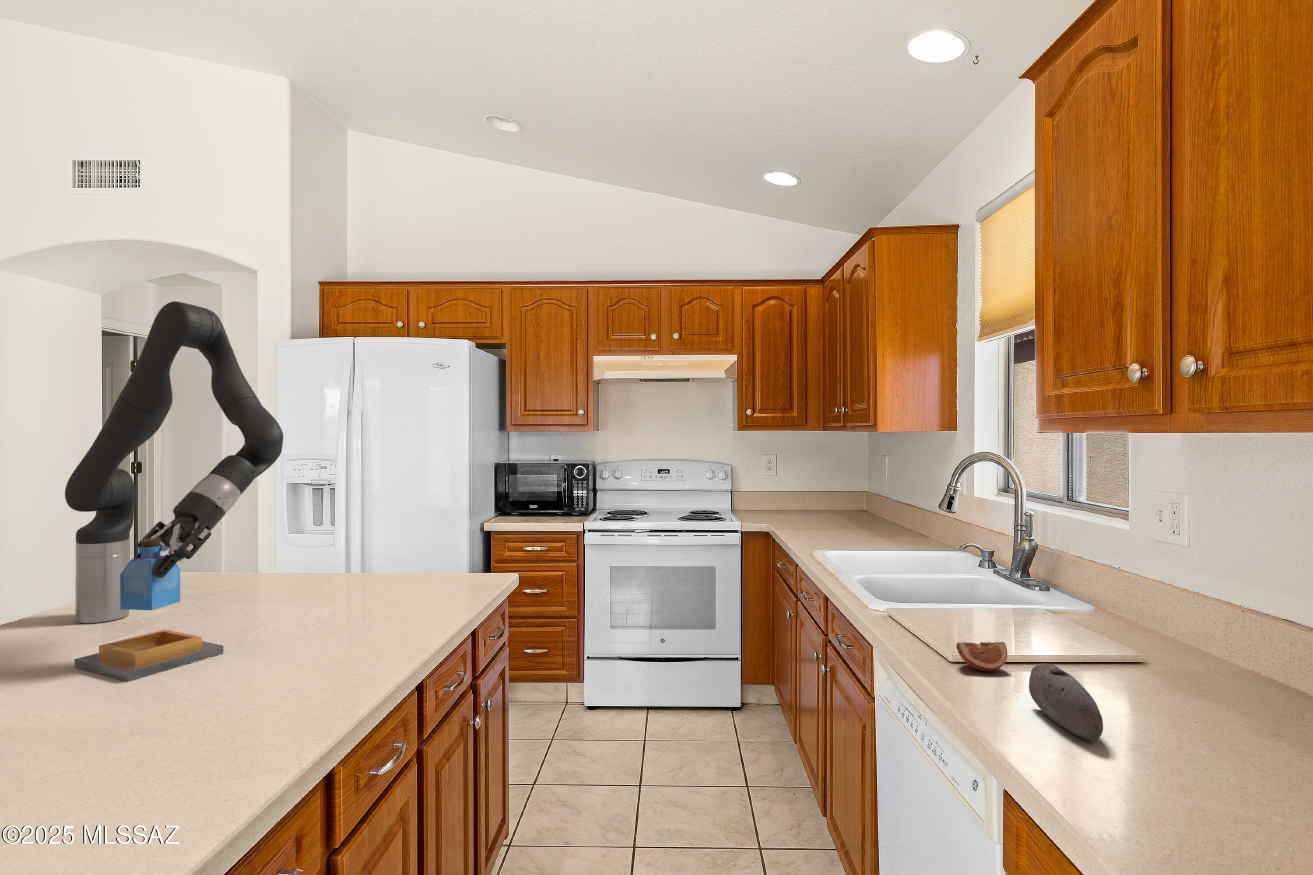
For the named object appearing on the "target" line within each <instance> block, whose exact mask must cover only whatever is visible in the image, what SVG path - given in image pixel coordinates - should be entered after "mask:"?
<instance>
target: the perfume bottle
mask: <svg viewBox="0 0 1313 875" xmlns="http://www.w3.org/2000/svg"><path fill="white" fill-rule="evenodd" d="M139 542H140V543H141V546H140V547H139V548H138V553H141V558H136V559H133V558H132V559H129V563H128V564H127V566H126V567H125V569H124V570H123V571H122V573H121V574H120V609H127V610H129V611H130V610H133V611H155V610H157V609H160V608H165V607H168V606H170V605H174V604H177V603H180V602H181V568H180V566H179V565H178V563H176V564H175V565H174V566H173V567H172V568H171V570H170V571H169V572H168V573H167V574H166V575H165V576H164V577H163V578H160V577H157V576H156V575H154V574H153V573H152V569H153V568H154V567H155V566H156V565H157V564H158V563H159V561H160V560H161V559H162V558H163V557H164V556H165V555H161V552H163V551H162V545H160V542H161V538H150V539H143V538H142V539H139ZM160 551H161V552H160Z"/></svg>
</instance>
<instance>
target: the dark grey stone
mask: <svg viewBox="0 0 1313 875" xmlns="http://www.w3.org/2000/svg"><path fill="white" fill-rule="evenodd" d="M1028 682H1029V683H1028V691H1029V695H1030V696H1031V699H1032V700H1033V702H1034V703H1035V705H1037V707H1038V708H1039V709H1040V710H1041V712H1042V713H1043V714H1044V715H1045V716H1046V717H1048V718H1049V719H1050V720H1051V721H1053V722H1055V723H1056V724H1057V725H1059V726H1060V727H1062V728H1064V729H1065V730H1066V731H1068V732H1070V734H1072V735H1074V736H1076V737H1078V738H1080V739H1082V740H1086V741H1089V742H1096V741H1097V740H1099V739H1100V738H1101V737H1102V734H1103V732H1104V731H1103V730H1104V721H1103V720H1104V719H1103V717H1102V714H1101V710H1100V709H1099V706H1098V704H1097V702H1096V700H1095V699H1094V697H1093V696H1092V695H1091V694H1090V693H1089V692H1088V690H1086V688H1085V687H1084V686H1083V685H1082V684H1081V683H1080V682H1079V681H1078V680H1077V679H1076V678H1075V677H1074V676H1072V674H1070V673H1068V672H1067V671H1064V669H1062V668H1060V667H1058V666H1056V665H1055V664H1053V663H1052V664H1051V663H1038V664H1037V665H1035V666H1033V667H1032V668H1031V671H1030V676H1029V681H1028Z"/></svg>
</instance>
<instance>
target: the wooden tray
mask: <svg viewBox="0 0 1313 875" xmlns="http://www.w3.org/2000/svg"><path fill="white" fill-rule="evenodd" d="M219 654H220V655H223V654H224V645H222V644H217V643H215V642H214V643H213V642H207V641H203V640H202V636H200V635H195V634H189V633H186V632H185V633H184V632H179V631H175V630H172V629H171V630H169V629H161V630H158V631H153V632H150V633H145V634H141V635H137V636H132V637H129V638H124V639H120V640H116V641H113V642H109V643H104V644H100V645H98V652H97V653H93V654H88V655H84V656H81V657H77V658H74V668H75V669H79V670H82V671H85V672H89V673H94V674H97V675H101V676H105V677H108V678H113V679H116V680H120V681H123V682H128V683H129V682H131V681H135V680H138V679H141V678H144V677H148V675H149V676H152V675H154V674H158V672H159V673H162V672H165V670H166V671H168V669H169V670H172V669H175V667H176V668H179V667H181V666H180V665H183V664H186V665H189V664H191V663H190V662H193V663H195V662H194V661H196V662H199V661H198V660H200V661H202V659H203V660H206V659H205V658H207V659H209V658H208V657H210V658H212V657H216V656H220V655H219ZM188 663H189V664H188ZM178 666H179V667H178ZM183 666H184V665H183ZM171 668H172V669H171ZM161 671H162V672H161Z"/></svg>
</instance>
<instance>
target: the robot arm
mask: <svg viewBox="0 0 1313 875" xmlns="http://www.w3.org/2000/svg"><path fill="white" fill-rule="evenodd" d="M227 334H228V333H227V331H226V329H225V327H224V325H223V322H222V321H221V319H220V317H219V316H218V315H217V314H216V313H215V312H214V311H212V310H210V309H209V308H206V307H203V306H197V305H194V304H191V303H186V302H182V301H176V300H175V301H170V302H168V303H166V304H164V305H163V306H162V307H161V308H160V309H159V311H158V313H157V314H156V315H155V318H154V320H153V322H152V324H151V326H150V329H149V332H148V335H147V338H146V340H145V343H144V345H143V347H142V350H141V352H140V355H139V357H138V359H137V361H136V363H135V366H134V368H133V369H132V372H131V373H130V375H129V378H128V380H127V382H126V383H125V385H124V387H123V389H121V391H120V393H119V395H118V398H117V399H116V401H115V403H114V404H113V406H112V408H111V411H110V413H109V415H108V417H107V419H106V420H105V422H104V424H103V426H102V428H101V429H100V431H99V433H98V434H97V436H96V438H95V440H94V441H93V443H92V445H91V446H90V448H88V449H89V450H87V452H86V453H85V455H84V456H83V457H82V459H81V461H79V463H78V465H77V466H76V468H74V470H73V472H72V474H71V475H70V477H69V478H68V480H67V482H66V486H65V489H64V499H65V502H66V504H67V506H68V507H69V508H71V509H72V510H73V511H75V512H76V511H77V512H83V513H84V512H85V513H87V512H88V513H90V512H95V515H94V517H93V519H92V520H90V522H88V523H87V524H85V525H83V526H82V527H80V528H79V529H78V530H76V533H75V622H77V623H79V624H95V623H105V622H111V621H115V620H120V619H124V618H126V617H128V616H129V615H130V610H127V609H120V574H121V573H122V571H123V570H124V569H125V567H126V566H127V564H128V563H129V562H130V532H131V530H132V529H133V528H132V527H133V526H134V525H133V524H134V518H135V502H136V500H135V499H136V487H135V483H134V480H133V477H132V475H131V474H130V473H129V472H128V471H127V470H125V469H122V468H118V467H119V466H120V465H121V463H122V462H123V461H124V459H126V458H127V457H128V456H129V455H130V454H132V452H134V451H135V450H136V449H139V448H140V447H141V446H142V445H144V444H145V442H146V443H147V441H148V440H150V439H151V438H152V437H153V436H154V435H155V434H156V433H157V432H158V431H159V429H160V428H161V426H162V425H163V423H164V421H165V420H166V417H167V416H168V414H169V412H170V410H171V408H172V405H173V400H174V397H173V396H174V395H173V388H172V382H171V375H170V374H171V368H172V365H173V363H174V360H175V358H176V356H177V354H178V353H179V351H180V349H181V348H182V347H184V348H190V349H195V350H196V349H197V350H198V351H199V352H200V353H201V354H202V355H203V357H204V358H205V360H207V362H208V364H209V366H210V369H211V378H210V379H211V380H210V381H211V383H210V386H211V392H212V393H213V397H214V399H215V401H216V403H217V404H218V406H219V408H220V409H221V410H222V413H223V414H224V415H225V417H226V419H227V420H228V421H229V422H230V424H232V425H234V426H236V427H238V429H239V430H240V432H241V434H242V436H243V438H244V439H243V440H244V444H243V445H242V446H241V448H240V449H239V450H238V451H237V452H236V453H235V454H231V455H226V456H225V457H224V458H223V459H221V460H220V462H219V463H218V464H216V465H215V466H214V468H213V469H211V471H210V472H209V473H208V474H207V475H206V476H205V477H203V478H202V479H201V480H200V481H198V482H197V484H195V486H194V487H192V489H190V491H189V492H188V493H187V494H185V496H184V497H183V498H182V499H181V500H180V501H179V502H178V503H177V504H176V505H175V506H174V507H173V510H172V512H173V515H174V519H172V520H171V521H170V522H169V523H168V524H165V523H164V522H163V521H159V522H157V523H156V524H154V526H153V527H152V528H151V529H150V530H149V531H148V532H147V533H146V534H145V535H144V536H143V537H142V539H150V538H161V542H160V545H162V551H160V553H161V552H166V551H168V554H165V555H163V556H164V557H163V558H162V559H161V560H160V561H159V563H158V564H157V565H156V566H155V567H154V568H153V569H152V573H153V574H154V575H156V576H157V577H160V578H163V577H164V576H165V575H166V574H167V573H168V572H169V571H170V570H171V568H172V567H173V566H174V565H175V564H178V562H182V561H183V560H184V559H186V560H189V559H192V558H193V557H194V556H195V554H196V553H197V552H198V551H199V550H200V548H202V546H203V545H204V544H205V543H206V542H207V540H209V538H210V537H211V536H212V532H211V531H212V530H213V529H214V528H215V527H216V525H217V524H218V523H220V521H221V520H222V519H223V518H224V517H225V515H226V514H227V513H228V512H229V511H230V510H231V509H232V507H233V506H235V505H236V502H237V501H238V499H239V498H240V497H241V495H243V493H244V492H245V491H246V490H247V489H248V488H249V486H250V485H251V484H252V483H253V481H254V480H255V479H256V478H257V477H259V476H261V475H262V474H263V473H265V472H266V470H268V469H269V468H270V467H272V466H273V465H274V464H275V462H277V460H278V459H279V458H280V455H281V454H282V451H283V445H284V444H283V443H284V432H283V429H282V427H281V426H280V424H279V422H278V421H277V419H276V418H275V417H274V416H273V415H272V414H271V413H270V411H268V409H266V408H265V407H264V406H263V405H262V403H261V401H260V399H259V397H258V396H257V394H256V393H255V391H254V390H253V388H252V386H251V385H250V384H249V382H248V380H247V378H246V377H245V375H244V372H243V370H242V368H241V367H240V364H239V362H238V359H237V357H236V355H235V352H234V350H233V347H232V345H231V342H230V340H229V338H228V335H227ZM135 546H136V547H137V548H138V549H139V547H140V546H141V543H140V541H139V542H138V543H136V545H135ZM136 558H141V553H139V552H138V553H137V554H136V555H134V557H133V558H132V559H136Z"/></svg>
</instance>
